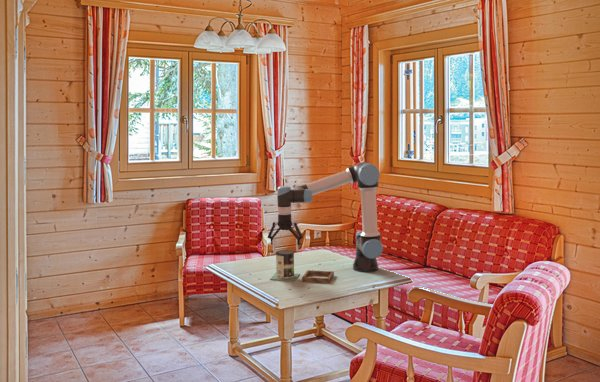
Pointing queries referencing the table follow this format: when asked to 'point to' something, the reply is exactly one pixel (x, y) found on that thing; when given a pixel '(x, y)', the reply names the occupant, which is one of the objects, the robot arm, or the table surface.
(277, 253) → the coffee can
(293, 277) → the mat
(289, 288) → the table surface
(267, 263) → the table surface
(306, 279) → the tray
